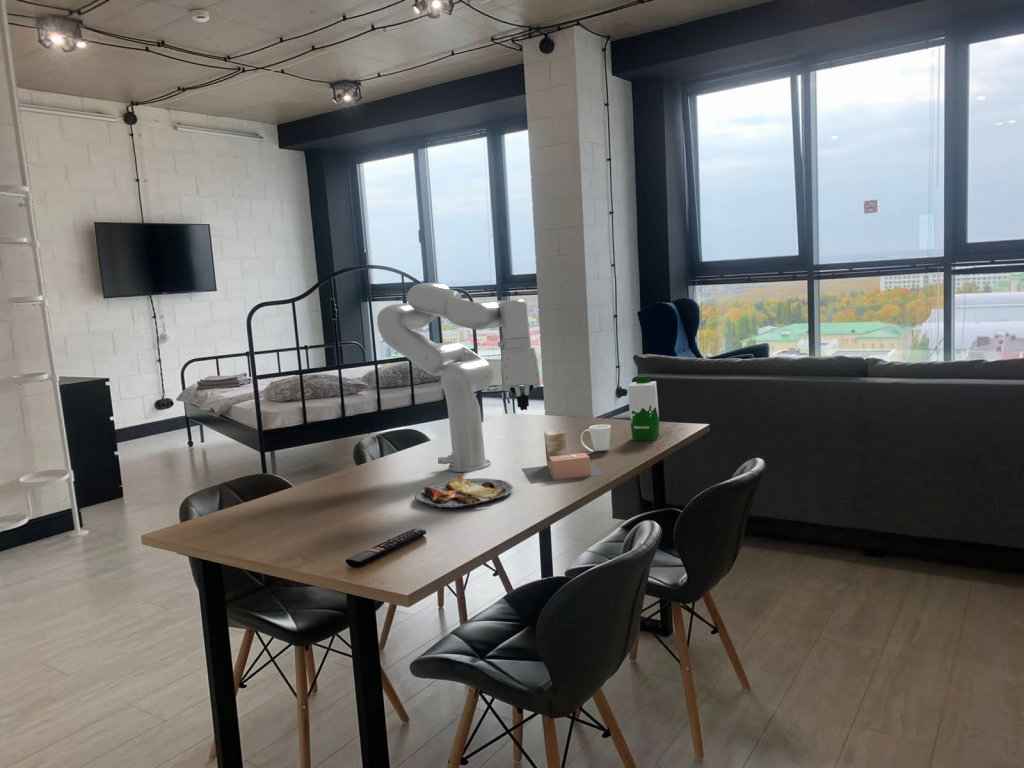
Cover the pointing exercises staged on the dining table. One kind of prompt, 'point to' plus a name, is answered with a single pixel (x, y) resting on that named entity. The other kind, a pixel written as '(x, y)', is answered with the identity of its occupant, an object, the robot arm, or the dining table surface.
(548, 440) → the beech block
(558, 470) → the terracotta block
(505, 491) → the food plate
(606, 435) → the cup
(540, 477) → the rubber mat
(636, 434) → the milk carton
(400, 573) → the dining table surface
